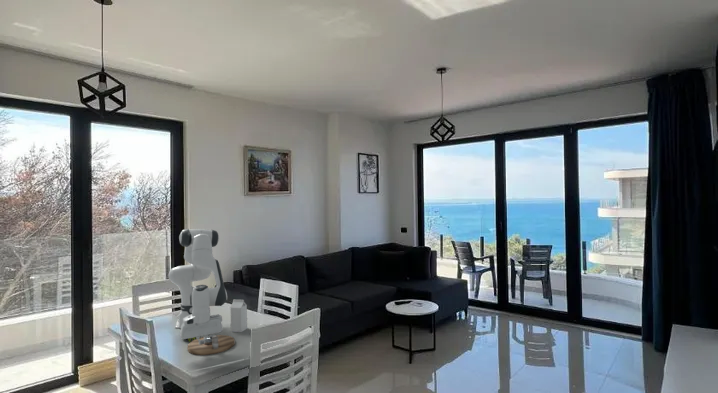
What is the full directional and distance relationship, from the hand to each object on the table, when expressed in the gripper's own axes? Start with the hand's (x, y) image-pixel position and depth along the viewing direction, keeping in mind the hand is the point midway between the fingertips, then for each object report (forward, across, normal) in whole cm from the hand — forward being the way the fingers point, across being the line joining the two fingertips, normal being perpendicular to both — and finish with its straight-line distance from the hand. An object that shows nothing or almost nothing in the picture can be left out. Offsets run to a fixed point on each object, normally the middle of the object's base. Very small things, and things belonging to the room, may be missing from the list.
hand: (202, 343), depth 209 cm
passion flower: (+6, +1, -29) cm, 30 cm away
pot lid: (+3, -6, -9) cm, 11 cm away
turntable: (+5, -6, -9) cm, 12 cm away
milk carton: (+6, -26, -28) cm, 39 cm away
